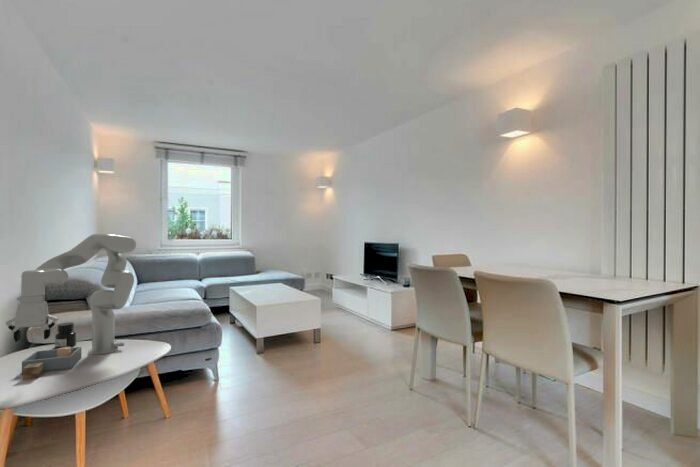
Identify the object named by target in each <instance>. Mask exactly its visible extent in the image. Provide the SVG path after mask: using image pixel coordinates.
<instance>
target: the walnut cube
mask: <svg viewBox="0 0 700 467" xmlns="http://www.w3.org/2000/svg"><path fill="white" fill-rule="evenodd" d="M43 375H44V372H43V363H35V364H28V365H27V366H26V367H24V368H23V374H22V381H27V380H35V379H39V378H40V377H41V376H43Z"/></svg>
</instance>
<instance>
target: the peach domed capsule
mask: <svg viewBox="0 0 700 467" xmlns="http://www.w3.org/2000/svg"><path fill="white" fill-rule="evenodd" d="M71 348H72V346H71V347H61V348H56V349H57V357H66V356H70V355H71Z"/></svg>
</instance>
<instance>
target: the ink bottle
mask: <svg viewBox="0 0 700 467" xmlns="http://www.w3.org/2000/svg"><path fill="white" fill-rule="evenodd" d="M74 325H75V324H74V322H71V321H70V322H63V323H59V324H57V333H56V334H55V336H54V347H55V348H56V349H58V348H61V347H71V348H72V347H73V346H76V344H77V332H76V331H74V329H75V328H74V327H75V326H74ZM55 348H54V349H55Z"/></svg>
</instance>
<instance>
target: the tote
mask: <svg viewBox="0 0 700 467" xmlns="http://www.w3.org/2000/svg"><path fill="white" fill-rule="evenodd" d="M57 349H58V348H56V349H55V348H54V349H47V350H45V349H43V350H37V351H35V352H33V353H31V354H30V355H29V356H27V357H26V358H25V359H23V360H22V361H21V375H23V368H24V367H26V366H27V365H28V364H35V363H43V373H45V372H46V373H47V372H55V371H56V372H57V371H63V370H71V369H72V368H73V367H74V366H76V365H77V363H78V362H79V361H80V360H82V346H75V347H73V346H72V347H71V355H70V356H66V357H57Z"/></svg>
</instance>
